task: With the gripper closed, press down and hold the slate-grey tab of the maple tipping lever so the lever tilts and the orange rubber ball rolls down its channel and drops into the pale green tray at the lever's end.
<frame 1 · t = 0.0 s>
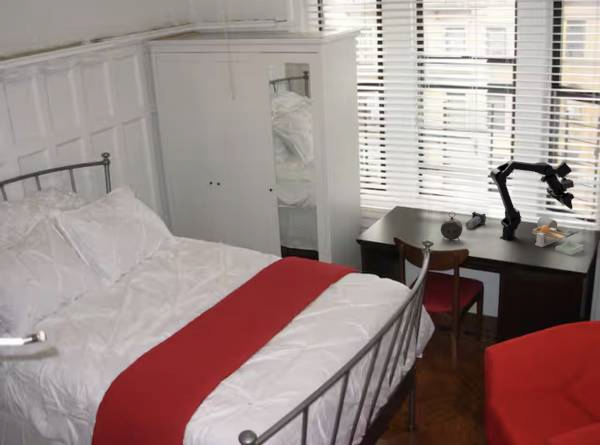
hand: (567, 206, 365), 15 cm above the table, tool tilted 35°, fingers open, 9 cm apart
lever: (555, 233, 359), point 4 cm above the table, hinge at 0.0°, touching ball
alarm clock: (451, 241, 368), on the table
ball: (545, 229, 356), point 7 cm above the table, touching lever
ceramic mug: (548, 230, 375), on the table
tray: (569, 250, 348), on the table
camera: (474, 226, 386), on the table
stand: (545, 243, 358), on the table
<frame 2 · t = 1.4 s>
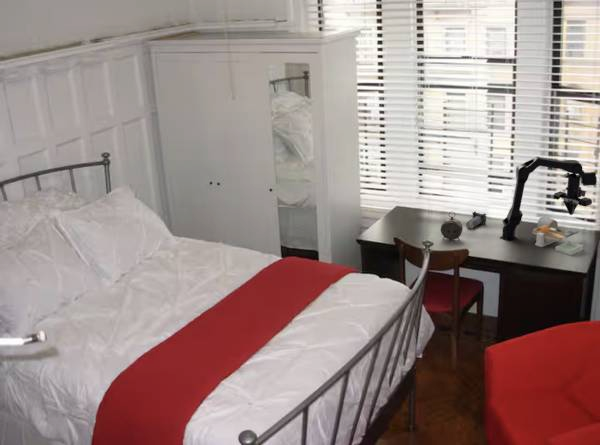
hand: (571, 214, 358), 13 cm above the table, tool pointing down, fingers closed
nothing on the table moved.
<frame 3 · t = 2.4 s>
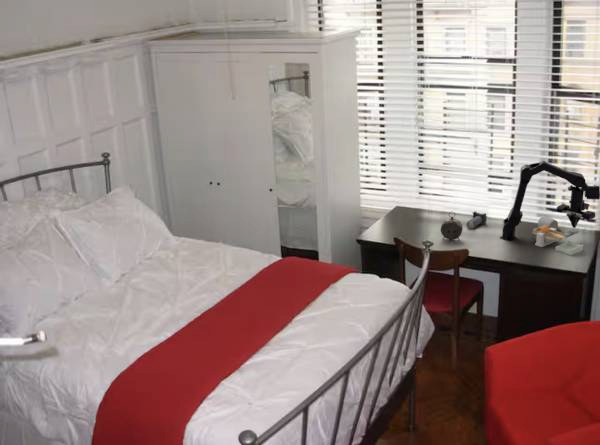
hand: (574, 227, 357), 7 cm above the table, tool pointing down, fingers closed
nothing on the table moved.
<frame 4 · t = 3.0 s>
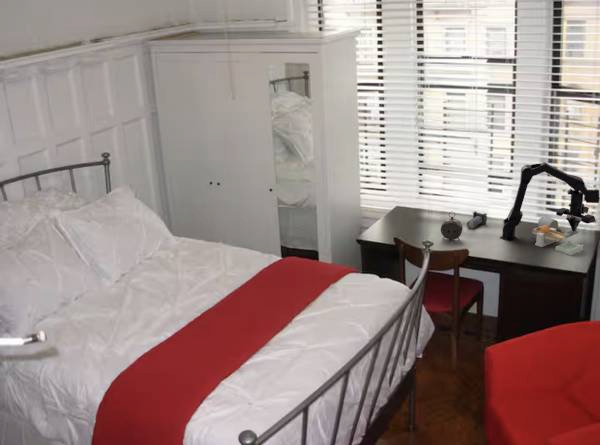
hand: (574, 231, 358), 5 cm above the table, tool pointing down, fingers closed, pressing on lever
lever: (555, 233, 359), point 4 cm above the table, hinge at 1.4°, touching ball, gripper
everything else where it was.
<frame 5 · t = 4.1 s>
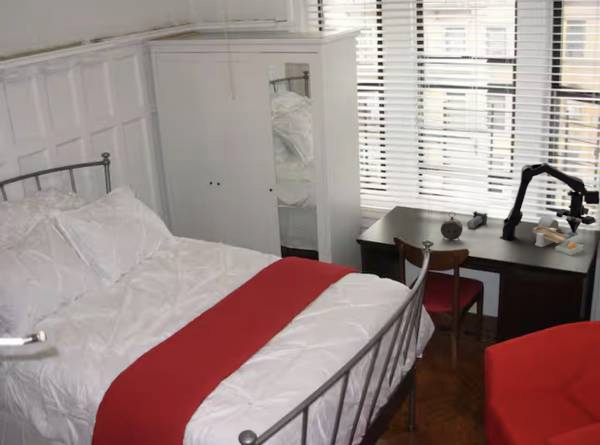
hand: (574, 232, 358), 5 cm above the table, tool pointing down, fingers closed, pressing on lever
lever: (554, 234, 359), point 4 cm above the table, hinge at 7.1°, touching gripper
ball: (572, 246, 346), point 2 cm above the table, tilted 127°, touching tray
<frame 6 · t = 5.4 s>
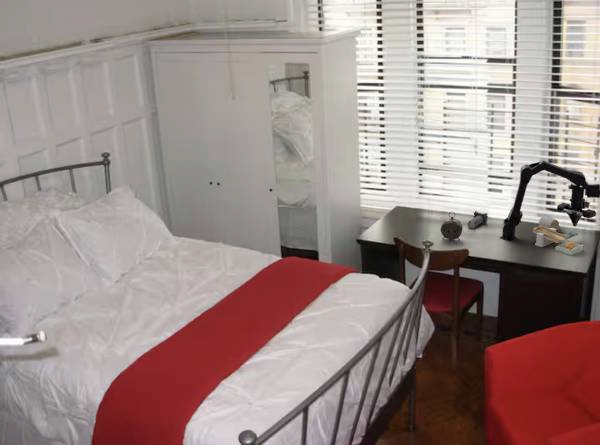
hand: (574, 226, 357), 8 cm above the table, tool pointing down, fingers closed
lever: (554, 234, 359), point 4 cm above the table, hinge at 7.1°
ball: (569, 245, 347), point 2 cm above the table, tilted 89°, touching tray
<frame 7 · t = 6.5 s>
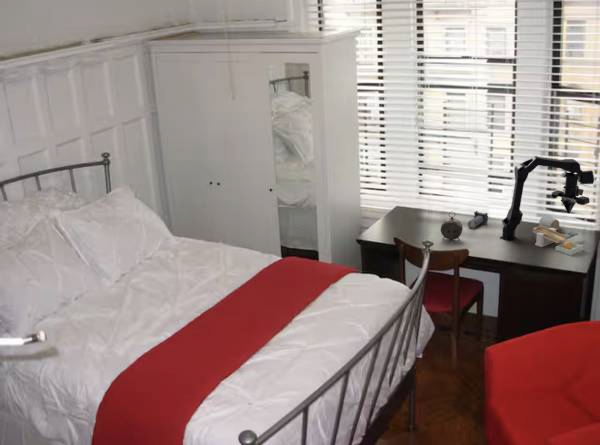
hand: (568, 213, 360), 13 cm above the table, tool pointing down, fingers closed
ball: (567, 245, 348), point 2 cm above the table, tilted 56°, touching tray
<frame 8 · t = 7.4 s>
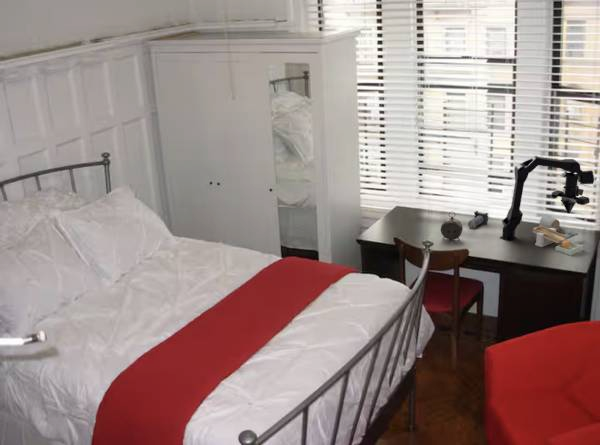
hand: (568, 213, 360), 13 cm above the table, tool pointing down, fingers closed
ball: (566, 244, 348), point 2 cm above the table, tilted 30°, touching tray
at the end: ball inside the target area on the tray (1.8 cm from its centre), point 2.5 cm above the tray's base; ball touching tray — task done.
